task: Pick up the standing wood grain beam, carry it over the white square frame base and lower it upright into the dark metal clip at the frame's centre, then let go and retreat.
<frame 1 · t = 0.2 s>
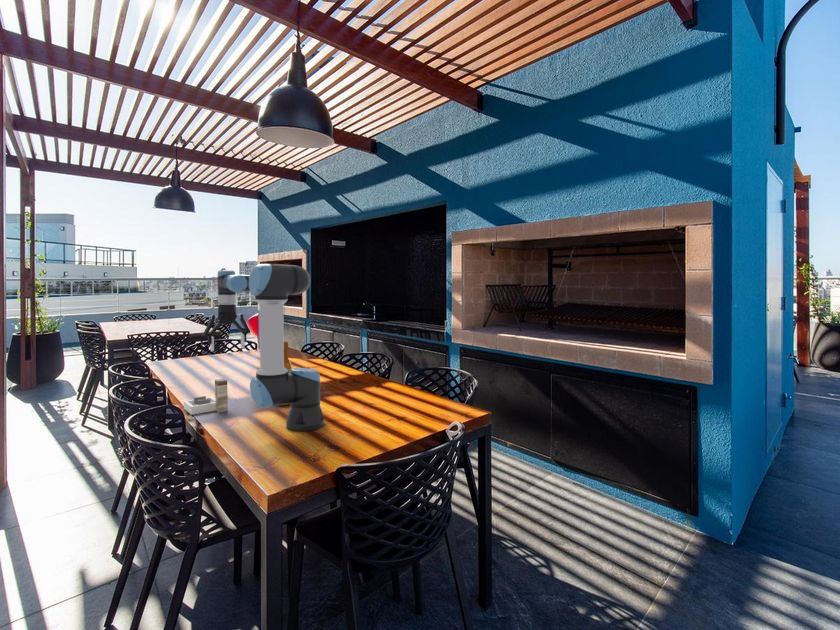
hand: (227, 349, 198), 27 cm above the table, fingers open, 13 cm apart
white square frame: (202, 409, 194), on the table
wine bottle: (285, 403, 206), on the table
wood grain beam: (221, 410, 193), on the table
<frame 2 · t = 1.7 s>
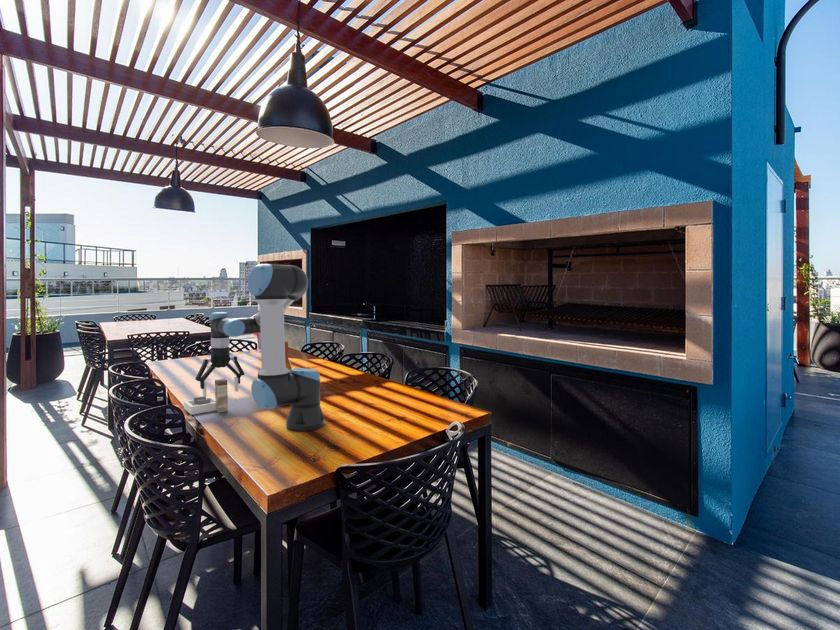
hand: (220, 393, 192), 8 cm above the table, fingers open, 13 cm apart
nothing on the table moved.
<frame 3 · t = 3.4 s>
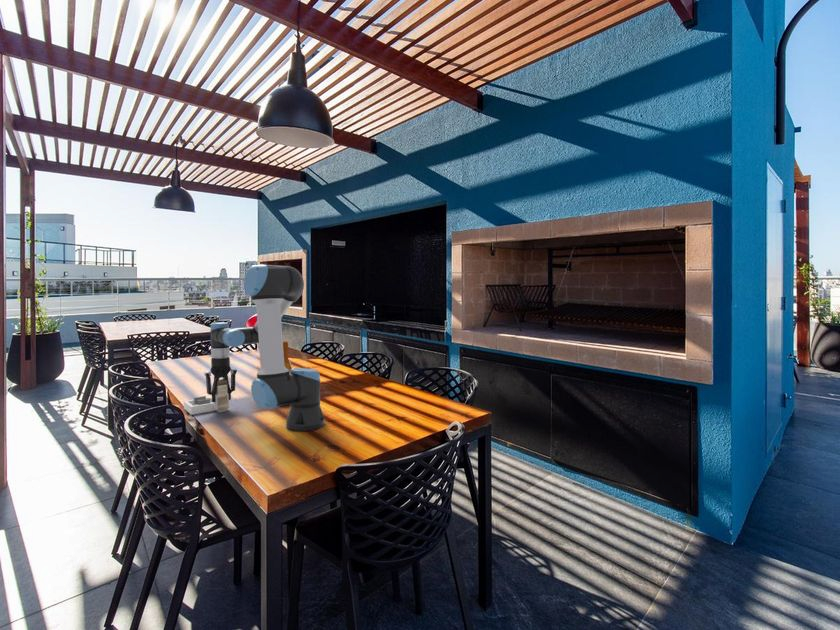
hand: (221, 408, 192), 1 cm above the table, fingers closed on wood grain beam, 4 cm apart
wood grain beam: (221, 410, 192), on the table, touching gripper, white square frame
everything else where it was.
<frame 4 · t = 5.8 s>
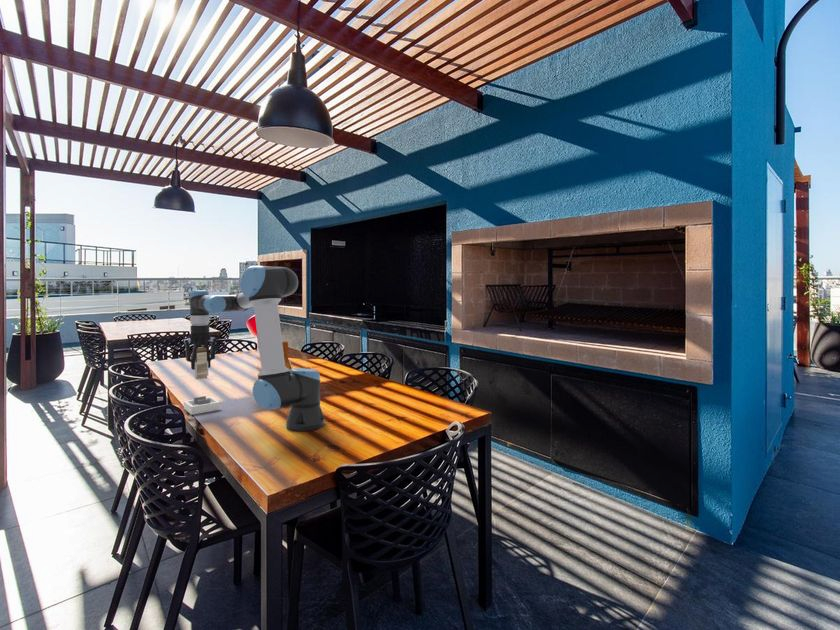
hand: (201, 375, 193), 15 cm above the table, fingers closed on wood grain beam, 4 cm apart
wood grain beam: (201, 378, 193), point 14 cm above the table, touching gripper
everything else where it was.
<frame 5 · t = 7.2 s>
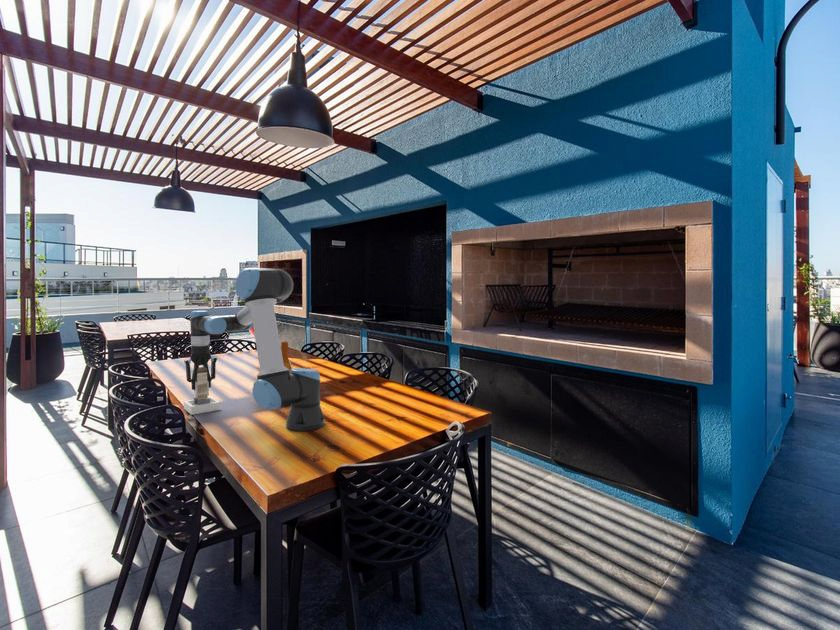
hand: (201, 395, 194), 6 cm above the table, fingers closed on wood grain beam, 4 cm apart
wood grain beam: (201, 398, 194), point 5 cm above the table, touching gripper
everything else where it was.
when the fingers open (5 cm above the table, at t = 8.2 s): wood grain beam drops 1 cm, resting on white square frame.
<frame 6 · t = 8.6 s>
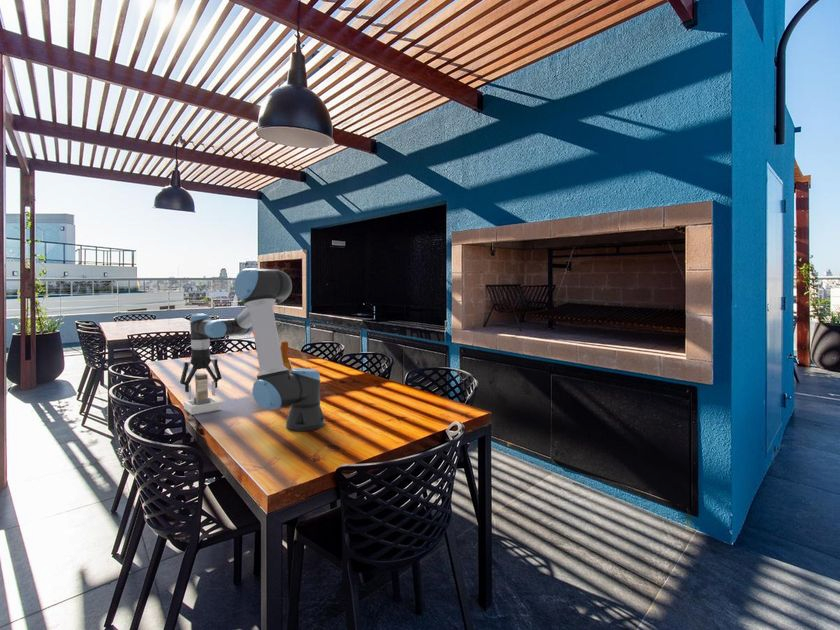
hand: (201, 397, 194), 6 cm above the table, fingers open, 9 cm apart
wood grain beam: (201, 404, 194), point 2 cm above the table, touching white square frame
everything else where it was.
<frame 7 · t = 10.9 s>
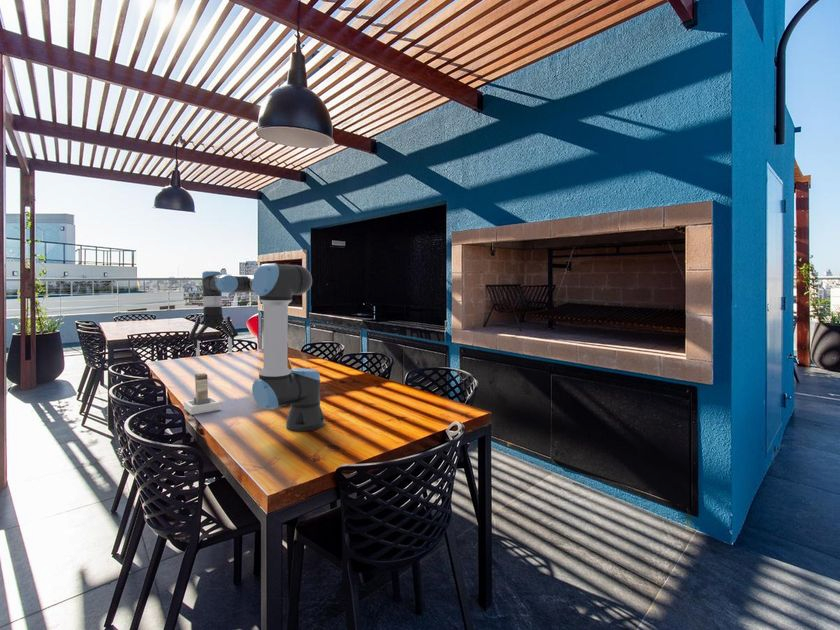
hand: (214, 353, 190), 26 cm above the table, fingers open, 13 cm apart
nothing on the table moved.
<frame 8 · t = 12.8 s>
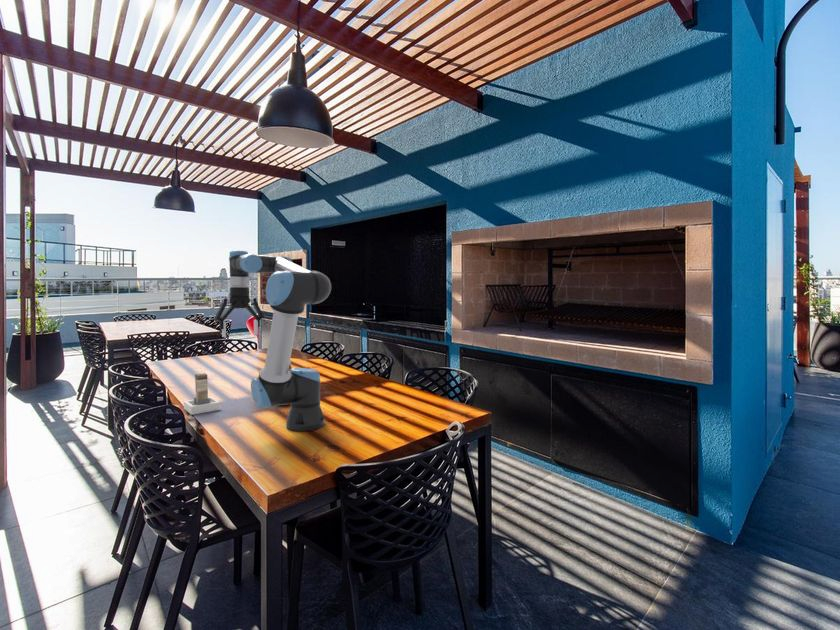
hand: (240, 335, 185), 35 cm above the table, fingers open, 13 cm apart
nothing on the table moved.
at the end: wood grain beam 0.0 cm off-centre on the white square frame, point 2.0 cm above the white square frame's base; wood grain beam tilted 0°; the gripper is holding nothing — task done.
